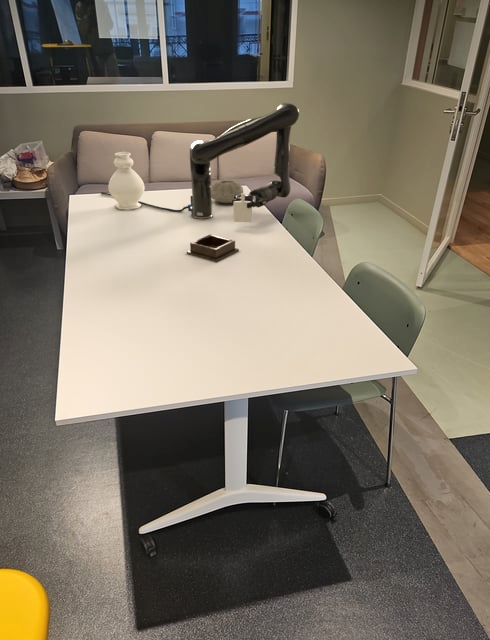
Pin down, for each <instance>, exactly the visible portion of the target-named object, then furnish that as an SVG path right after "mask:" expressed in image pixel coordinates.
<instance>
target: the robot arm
mask: <svg viewBox="0 0 490 640" xmlns="http://www.w3.org/2000/svg"><path fill="white" fill-rule="evenodd" d="M298 108H299V107H297V106H296V105H295V104H293V103H290V102H283V103H281V104H279V106H277V108H276V109H275V110H273V111H272V112H270V113H268V114H265V115H262V116H258V117H254V118H250V119H247V120H245V121H242V122H240V123H237V124H235V125H233V126H232V127H230V128H229V129H228V130H226V131H224V132H223V133H222V134H221V135H219V136H217V137H215V138H213V139H210V140H207V141H204V140H202V139H201V140H196V141H194V142H193V143H191V145H190V147H189V166H190V167H189V168H190V178H191V179H190V180H191V181H190V182H191V195H190V204H187V205H186V206H183V207H182V208H181V209H172V208H167V207H162V206H157V205H153V204H149V203H146V202H143V201H141V200H139V201H138V203H140V204H141V205H144V206H147V207H150V208H154V209H158V210H163V211H169V212H173V213H182V212H183V211H185V210H186V209H188V210H187V211H188V212H190V216H191V217H193V218H194V219H198V220H207V219H211V218H212V217H213V204H212V203H213V199H212V194H211V187H212V171H211V162H212V161H214V160H215V159H217V158H218V157H220V156H222V155H224V154H227V153H230V152H233V151H235V150H238V149H240V148H243V147H246V146H248V145H250V144H252V143H254V142H256V141H258V140H260V139H262V138H264V137H266V136H268V135H270V134H271V133H274V132H276V138H275V143H276V144H275V152H274V165H273V174H274V175H275V176H277V177H278V178H280V180H277V179H275V180H271V181H269V182H268V184H267V185H264V186H259V187H257V188H254V189H251V190H250V191H249V193H248V194H245V201H251V202H249V203H247V208H251V207H252V208H261V207H264V206H265V205H266V204H267V203H269V202H271V201H274V200H275V199H276V198H277V197H279V198H282V199H283V198H288V197H289V195H290V193H291V181H290V173H289V172H290V171H289V170H290V161H291V145H290V138H291V130H292V127H293V125H295V124H296V123H297V121H298V120H299V117H300V111H299V109H298ZM100 194H101V195H105V196H106V195H107V196H111V197H112V195H111V194H110V192H104V191H101V192H100ZM234 201H241V194H239V195H237V196H234V200H232V203H231V205H232V206H234Z"/></svg>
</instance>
